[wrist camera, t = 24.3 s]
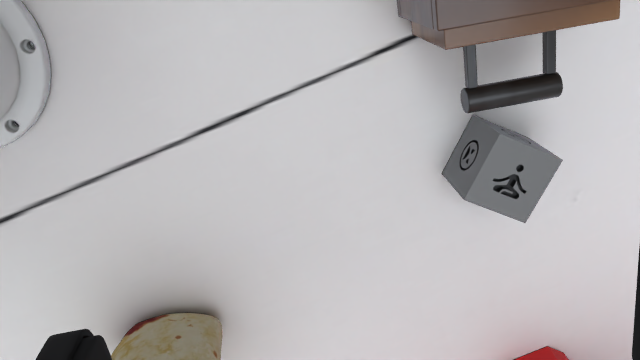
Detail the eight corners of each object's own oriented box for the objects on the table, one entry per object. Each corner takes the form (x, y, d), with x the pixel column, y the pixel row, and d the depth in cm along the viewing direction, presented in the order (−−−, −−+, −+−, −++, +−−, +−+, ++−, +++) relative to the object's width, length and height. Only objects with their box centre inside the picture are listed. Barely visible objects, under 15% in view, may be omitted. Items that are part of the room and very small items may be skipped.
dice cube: (441, 173, 42) (463, 199, 37) (473, 114, 40) (500, 133, 36) (496, 195, 43) (525, 223, 38) (529, 138, 41) (562, 160, 37)
